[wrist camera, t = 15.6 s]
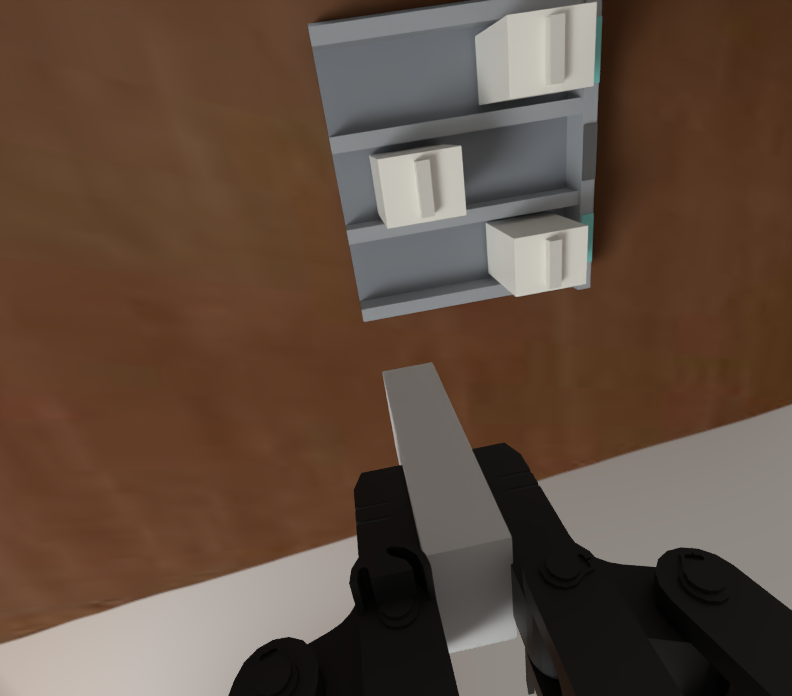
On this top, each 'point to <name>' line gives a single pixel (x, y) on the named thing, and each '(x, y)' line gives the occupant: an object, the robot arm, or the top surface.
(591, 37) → the white rectangular block
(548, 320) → the top surface
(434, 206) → the white ridged block
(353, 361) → the top surface
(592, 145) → the switch board
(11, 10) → the top surface
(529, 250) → the white block with handle
